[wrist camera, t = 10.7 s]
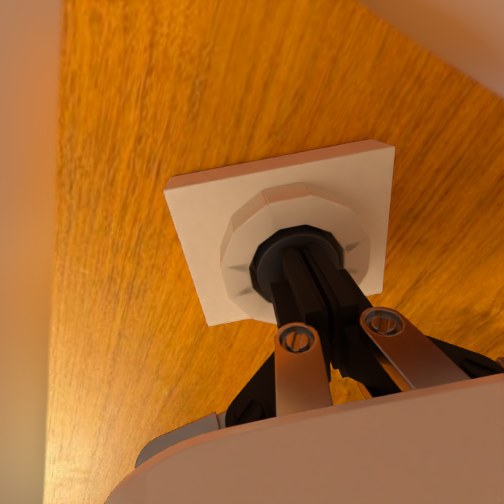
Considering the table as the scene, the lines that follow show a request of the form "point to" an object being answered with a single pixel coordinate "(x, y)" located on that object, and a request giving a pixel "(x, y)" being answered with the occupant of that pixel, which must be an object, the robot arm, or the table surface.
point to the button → (292, 237)
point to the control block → (281, 220)
